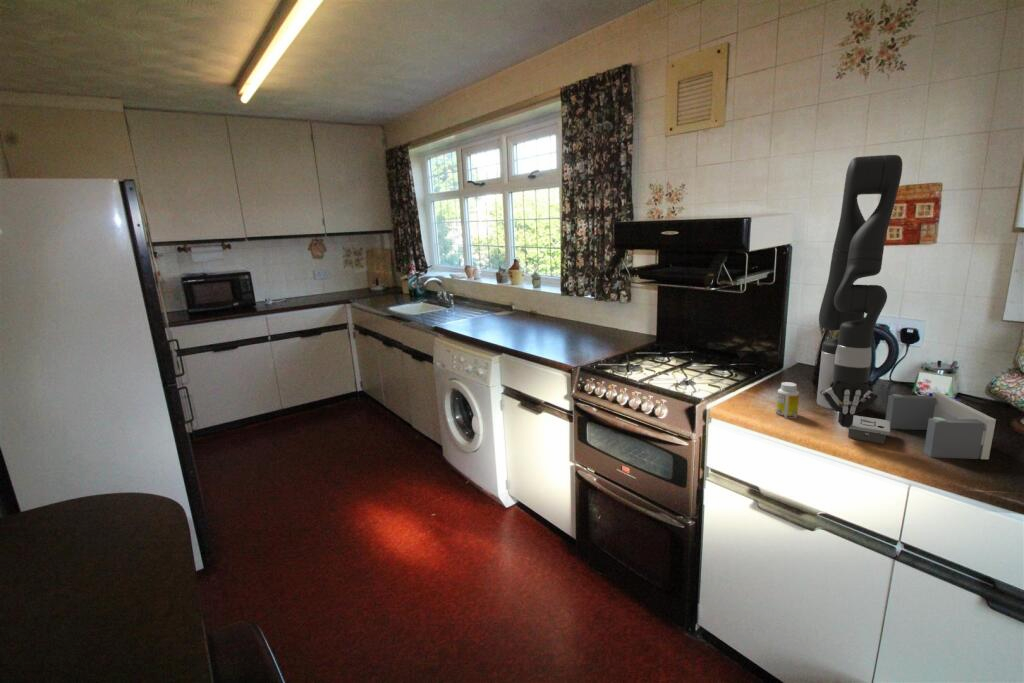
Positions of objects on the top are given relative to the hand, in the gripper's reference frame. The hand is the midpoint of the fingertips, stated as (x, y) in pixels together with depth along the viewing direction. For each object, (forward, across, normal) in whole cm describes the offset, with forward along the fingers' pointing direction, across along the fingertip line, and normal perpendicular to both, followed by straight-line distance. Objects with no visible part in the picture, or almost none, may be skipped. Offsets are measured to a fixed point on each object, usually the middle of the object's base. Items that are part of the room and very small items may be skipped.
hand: (844, 426), depth 125 cm
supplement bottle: (+4, +9, -16) cm, 18 cm away
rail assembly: (+3, -20, -1) cm, 21 cm away
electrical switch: (+4, -10, -1) cm, 11 cm away
